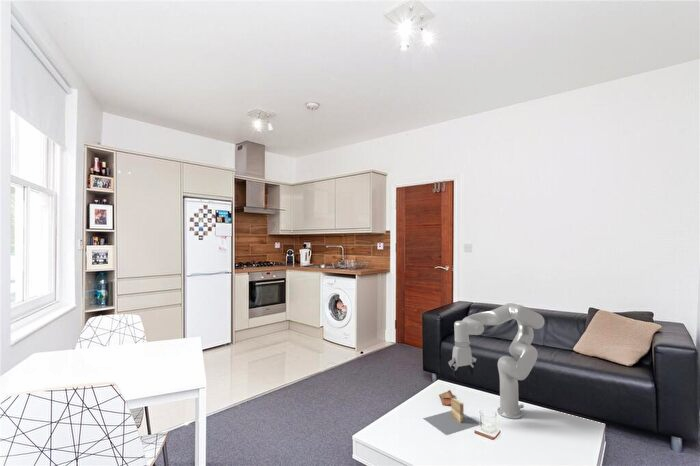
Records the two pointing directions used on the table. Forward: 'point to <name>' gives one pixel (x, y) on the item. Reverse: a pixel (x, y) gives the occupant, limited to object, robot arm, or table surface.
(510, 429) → the table surface
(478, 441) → the table surface
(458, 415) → the maple tile
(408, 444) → the table surface
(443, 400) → the sunglasses case
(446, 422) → the rubber mat
